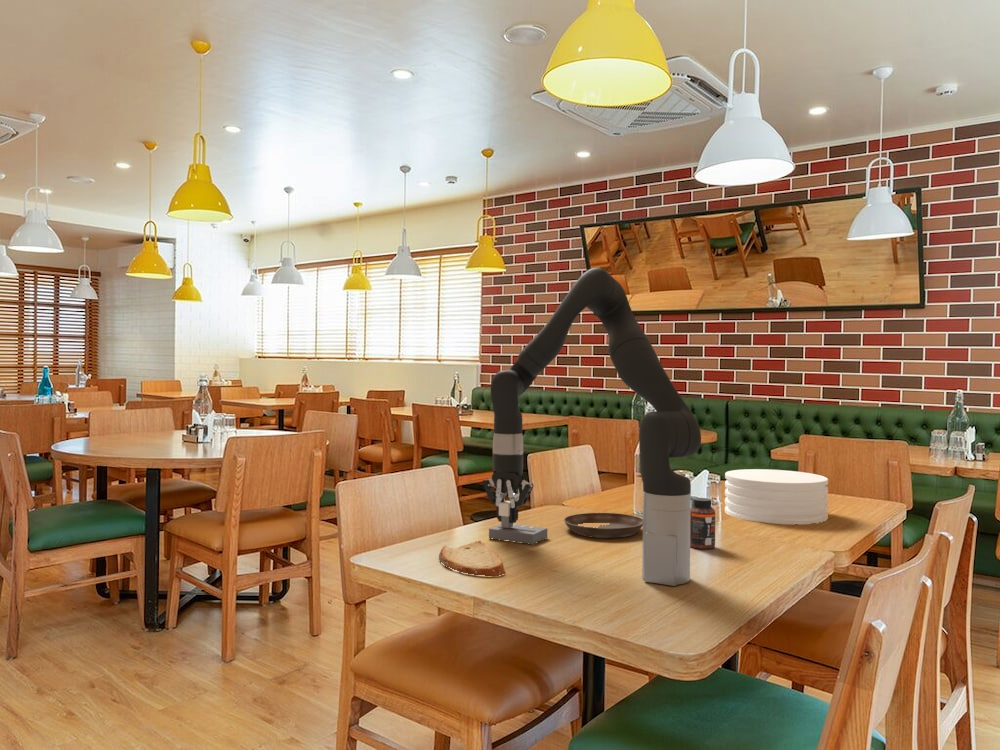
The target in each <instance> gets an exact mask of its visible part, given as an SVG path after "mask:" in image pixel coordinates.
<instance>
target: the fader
mask: <svg viewBox="0 0 1000 750" xmlns="http://www.w3.org/2000/svg"><path fill="white" fill-rule="evenodd" d="M510 508H511V505H510V500H505V501H504V502H501V503H499V516H501V527H503V528H510V527H513V524H514V523H510Z"/></svg>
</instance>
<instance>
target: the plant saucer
mask: <svg viewBox="0 0 1000 750" xmlns="http://www.w3.org/2000/svg"><path fill="white" fill-rule="evenodd" d="M563 521H564V523H565V525H566V526H567V527H568V530H570V531H571V532H572V531H573V533H574V532H575V533H574V534H576V533H577V534H576V535H579V534H581V535H580V536H582V535H585V536H584V537H587V536H592V537H591V538H594V537H603V538H602V539H619V538H618V537H622V538H627V536H628V537H631V536H634V535H635V534H637V533H638V532H639V531H640V530H641V528H643V517H640V516H635V515H631V514H626V513H625V514H622V513H615V512H587V513H578V514H577V513H576V514H573V515H572V514H571V515H567V516H566V517H564V518H563ZM583 523H610V524H609V525H606V526H605V525H603V526H602V525H600V526H599V527H598V528H596V527H595V528H593V527H584V526H578V524H583Z"/></svg>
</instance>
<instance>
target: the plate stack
mask: <svg viewBox="0 0 1000 750" xmlns="http://www.w3.org/2000/svg"><path fill="white" fill-rule="evenodd" d="M724 479H726V480H725V482H724V487H725V489H724V496H725V498H724V504H725V506H724V513H725V514H727V515H729V516H730V517H733V518H737V519H741V520H745V521H751V522H757V523H764V524H776V525H795V524H798V525H812V524H811V523H816V524H820V523H819V522H821V523H824V522H823V521H825V522H827V521H828V520H827V519H828V518H829V514H828V513H827V512H828V511H829V505H828V504H827V503H828V502H829V497H828V495H827V494H828V493H829V487H828V484H829V478H828V477H826V476H823V475H820V474H815V473H813V472H812V473H811V472H805V471H798V470H796V471H795V470H785V469H783V470H782V469H766V468H765V469H763V468H762V469H761V468H754V469H753V468H752V469H747V468H746V469H745V468H744V469H733V470H728V471H726V472H725V473H724ZM826 520H827V521H826Z"/></svg>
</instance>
